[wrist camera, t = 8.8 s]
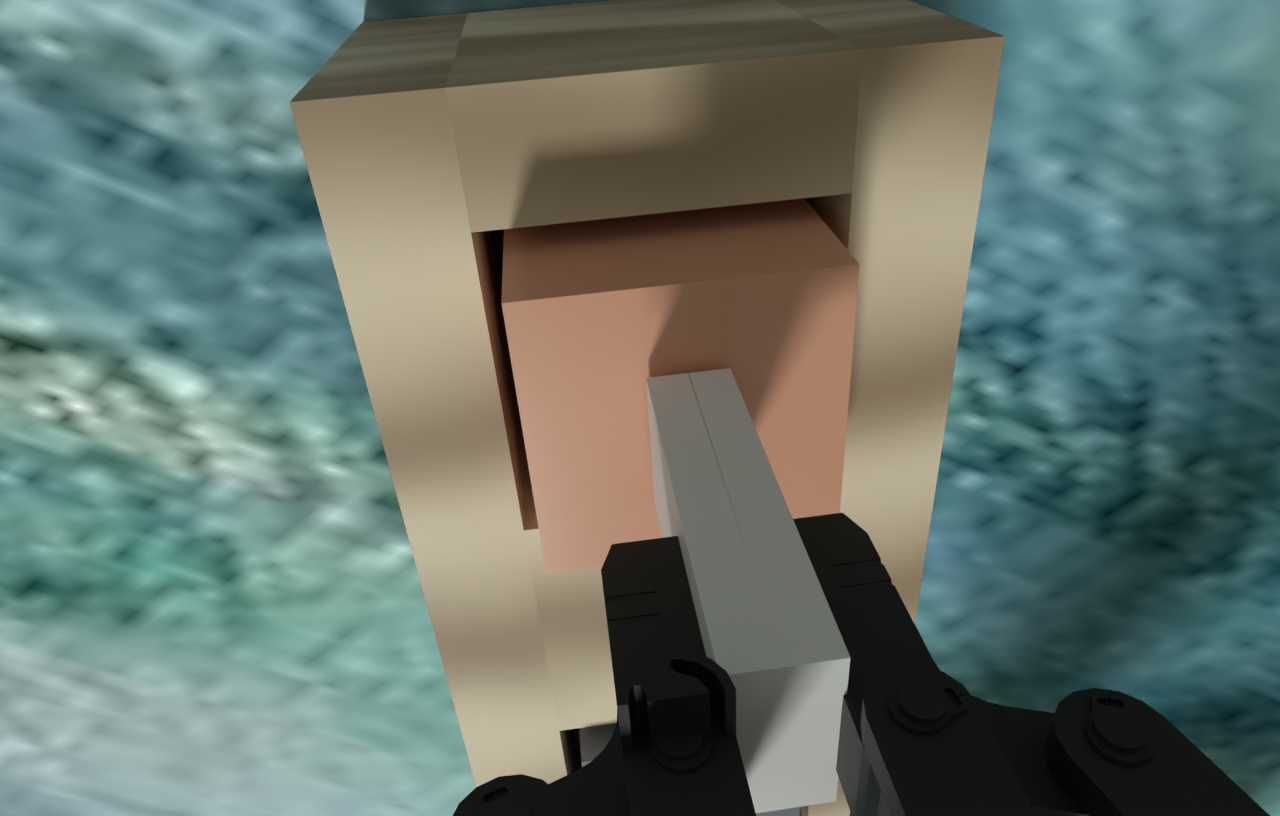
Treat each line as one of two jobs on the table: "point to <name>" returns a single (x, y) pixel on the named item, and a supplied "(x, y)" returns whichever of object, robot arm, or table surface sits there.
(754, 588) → the robot arm
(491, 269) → the frame
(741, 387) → the terracotta plunger
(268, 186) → the table surface
